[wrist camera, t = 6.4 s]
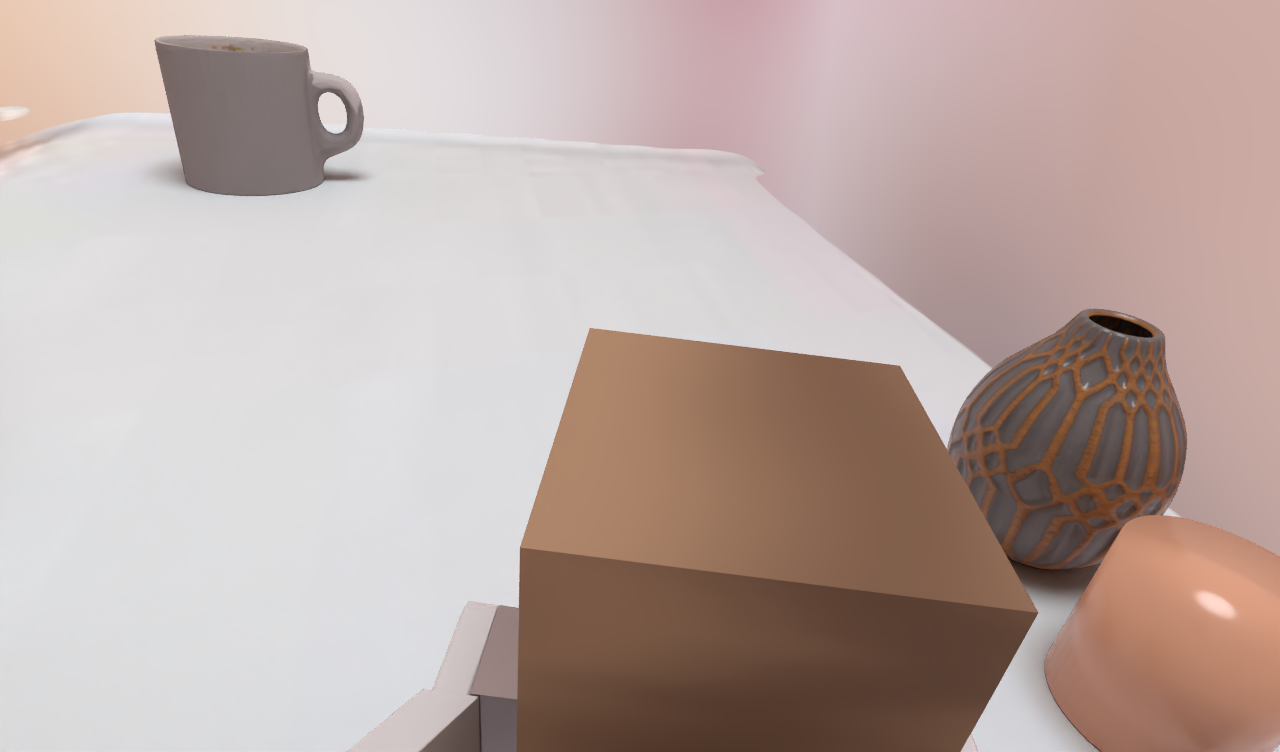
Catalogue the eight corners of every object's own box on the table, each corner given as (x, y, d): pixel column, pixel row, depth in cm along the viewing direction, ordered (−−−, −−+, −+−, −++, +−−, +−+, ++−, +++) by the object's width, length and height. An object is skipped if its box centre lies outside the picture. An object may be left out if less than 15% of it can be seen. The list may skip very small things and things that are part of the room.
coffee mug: (162, 190, 50) (125, 41, 45) (216, 160, 59) (190, 32, 54) (352, 202, 52) (337, 61, 48) (377, 171, 61) (367, 49, 56)
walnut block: (511, 1060, 12) (520, 547, 6) (556, 794, 16) (589, 328, 10) (768, 1095, 12) (1038, 613, 6) (750, 819, 16) (899, 366, 10)
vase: (1029, 469, 30) (1119, 282, 25) (1168, 591, 24) (1316, 374, 19) (890, 480, 28) (961, 280, 24) (1003, 613, 22) (1125, 380, 18)
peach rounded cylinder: (1009, 668, 20) (1080, 542, 18) (1103, 616, 22) (1178, 498, 20) (1189, 832, 16) (1312, 702, 14) (1280, 750, 19) (1398, 625, 16)
